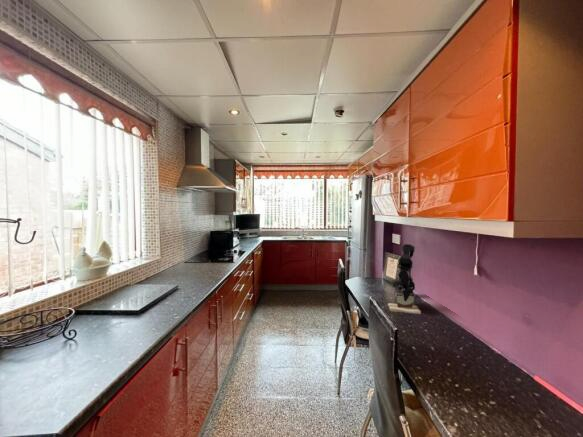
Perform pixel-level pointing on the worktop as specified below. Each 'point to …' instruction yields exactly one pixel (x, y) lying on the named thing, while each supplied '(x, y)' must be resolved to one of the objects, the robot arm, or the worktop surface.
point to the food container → (402, 303)
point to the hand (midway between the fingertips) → (404, 299)
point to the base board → (404, 309)
